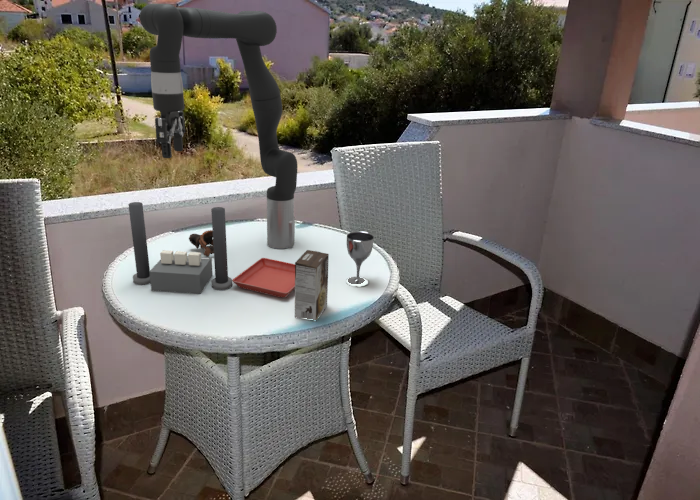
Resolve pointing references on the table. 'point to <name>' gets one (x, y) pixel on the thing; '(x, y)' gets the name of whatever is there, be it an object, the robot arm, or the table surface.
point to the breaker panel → (181, 276)
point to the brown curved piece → (203, 241)
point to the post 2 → (220, 250)
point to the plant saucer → (268, 277)
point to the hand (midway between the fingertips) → (173, 154)
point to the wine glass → (359, 251)
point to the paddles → (180, 258)
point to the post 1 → (139, 244)
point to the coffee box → (311, 284)
